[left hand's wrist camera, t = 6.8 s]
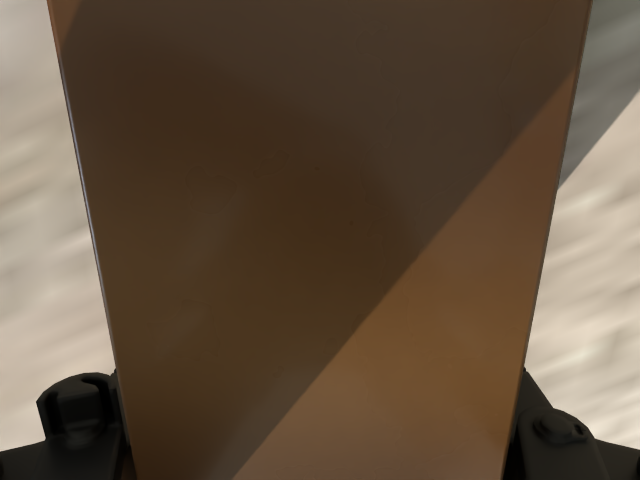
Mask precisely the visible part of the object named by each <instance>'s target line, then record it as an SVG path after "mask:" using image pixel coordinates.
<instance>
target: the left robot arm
mask: <svg viewBox="0 0 640 480" xmlns="http://www.w3.org/2000/svg"><path fill="white" fill-rule="evenodd" d="M36 404H37V407H38V411H39V415H40V418H41V422H42V426H43V429H44V433H45V437H46V439H45V441H42V442H38V443H35V444H31V445H27V446H23V447H18V448H14V449H10V450H5V451H1V452H0V480H137V477H136V472H135V466H134V461H133V456H132V450H131V445H130V440H129V434H128V429H127V424H126V419H125V413H124V408H123V403H122V397H121V392H120V387H119V381H118V376H117V371H116V369H115V370H114V373H112V374H111V376H109V375H107V374H103V373H98V372H95V373H82V374H79V375H75V376H71V377H68V378H66V379H64V380H61V381H59V382H57V383H55V384H54V385H52V386H51V387H49V388H48V389H47V390H45V391H44V392H43V393H42V394H41V396H40V397H39V398H38V400H37V401H36ZM503 480H640V450H638V449H634V448H630V447H625V446H621V445H617V444H612V443H608V442H604V441H601V440H598V439H595V438H594V436H593V435H592V433H591V432H590V430H589V429H588V427H587V426H585V425H584V424H583V423H582V422H581V421H579V420H578V419H577V418H575V417H574V416H572V415H570V414H568V413H566V412H564V411H561V410H558V409H554V408H553V407H552V405H551V404H550V403H549V401H548V400H547V398H546V397H545V395H544V394H543V393H542V391H541V390H540V388H539V387H538V385H537V384H536V383H535V381H534V380H533V378H532V377H531V375H530V374H529V373H528V372H526V368H525V367H524V369H523V374H522V379H521V385H520V390H519V395H518V401H517V406H516V411H515V416H514V422H513V427H512V432H511V438H510V443H509V448H508V454H507V459H506V464H505V469H504V475H503Z"/></svg>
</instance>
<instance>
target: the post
mask: <svg viewBox="0 0 640 480" xmlns="http://www.w3.org/2000/svg"><path fill="white" fill-rule="evenodd" d="M592 3H593V0H47V4H48V10H49V15H50V20H51V26H52V31H53V36H54V42H55V47H56V52H57V57H58V63H59V68H60V73H61V79H62V84H63V89H64V95H65V100H66V105H67V111H68V116H69V121H70V127H71V132H72V137H73V142H74V148H75V153H76V158H77V164H78V169H79V174H80V180H81V185H82V190H83V196H84V201H85V206H86V211H87V217H88V222H89V227H90V233H91V238H92V243H93V249H94V254H95V259H96V265H97V270H98V275H99V281H100V286H101V291H102V296H103V302H104V307H105V312H106V318H107V323H108V328H109V334H110V339H111V344H112V350H113V355H114V360H115V365H116V371H117V376H118V381H119V387H120V392H121V397H122V403H123V408H124V413H125V419H126V424H127V429H128V434H129V440H130V445H131V450H132V456H133V461H134V466H135V472H136V477H137V480H503V475H504V469H505V464H506V459H507V454H508V448H509V443H510V438H511V432H512V427H513V422H514V416H515V411H516V406H517V401H518V395H519V390H520V385H521V379H522V374H523V369H524V363H525V358H526V353H527V347H528V342H529V337H530V332H531V326H532V321H533V316H534V310H535V305H536V300H537V294H538V289H539V284H540V279H541V273H542V268H543V263H544V257H545V252H546V247H547V241H548V236H549V231H550V225H551V220H552V215H553V210H554V204H555V199H556V194H557V188H558V183H559V178H560V172H561V167H562V162H563V157H564V151H565V146H566V141H567V135H568V130H569V125H570V119H571V114H572V109H573V103H574V98H575V93H576V88H577V82H578V77H579V72H580V66H581V61H582V56H583V50H584V45H585V40H586V35H587V29H588V24H589V19H590V13H591V8H592Z"/></svg>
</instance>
